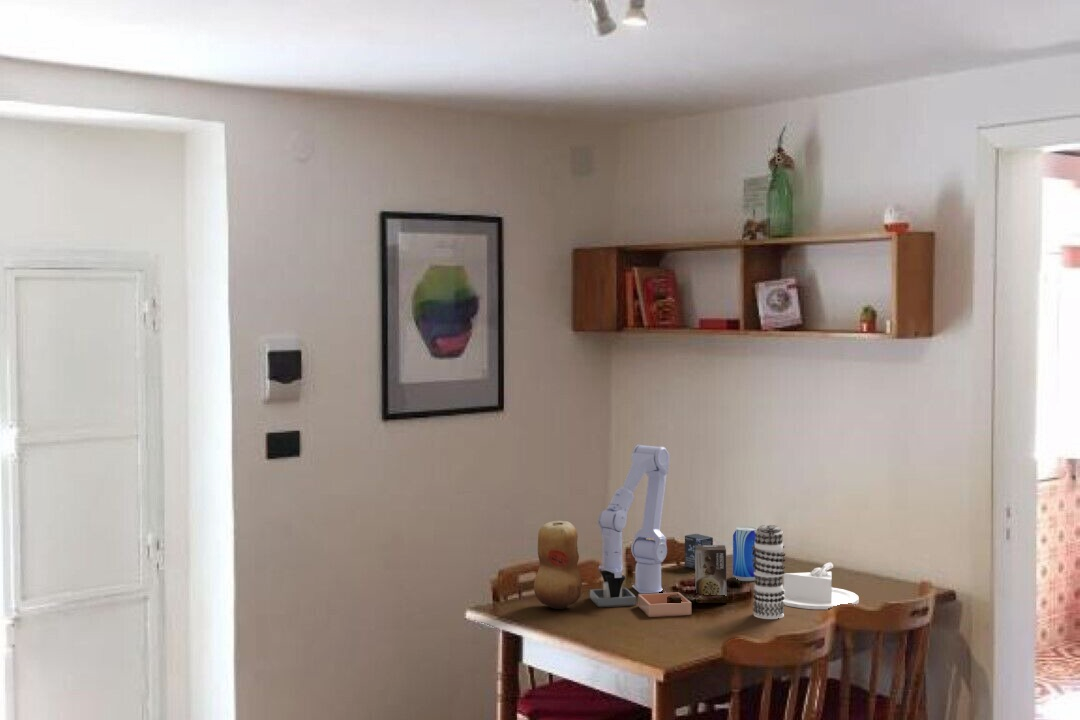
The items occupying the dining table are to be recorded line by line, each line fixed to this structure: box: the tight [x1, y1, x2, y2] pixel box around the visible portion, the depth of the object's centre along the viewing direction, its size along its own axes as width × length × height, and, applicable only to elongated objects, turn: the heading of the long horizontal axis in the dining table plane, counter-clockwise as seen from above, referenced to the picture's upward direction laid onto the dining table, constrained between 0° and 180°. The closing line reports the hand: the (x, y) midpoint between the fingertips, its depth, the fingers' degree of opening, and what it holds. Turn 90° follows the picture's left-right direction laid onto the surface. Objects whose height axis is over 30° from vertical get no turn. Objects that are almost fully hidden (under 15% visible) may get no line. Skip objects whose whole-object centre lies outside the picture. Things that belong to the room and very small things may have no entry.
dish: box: [782, 561, 860, 610], centre depth 365 cm, size 25×25×11 cm
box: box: [684, 533, 714, 570], centre depth 408 cm, size 8×6×11 cm
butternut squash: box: [533, 520, 583, 610], centre depth 357 cm, size 14×13×25 cm
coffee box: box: [694, 544, 728, 596], centre depth 363 cm, size 9×6×16 cm
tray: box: [589, 587, 637, 608], centre depth 364 cm, size 11×11×2 cm
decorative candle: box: [752, 524, 786, 620], centre depth 347 cm, size 9×9×25 cm
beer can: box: [732, 525, 758, 582], centre depth 392 cm, size 8×8×16 cm
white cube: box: [602, 581, 623, 598], centre depth 364 cm, size 4×4×5 cm
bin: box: [637, 591, 692, 618], centre depth 353 cm, size 12×12×4 cm
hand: (612, 597), depth 364 cm, fingers closed on white cube, 4 cm apart
